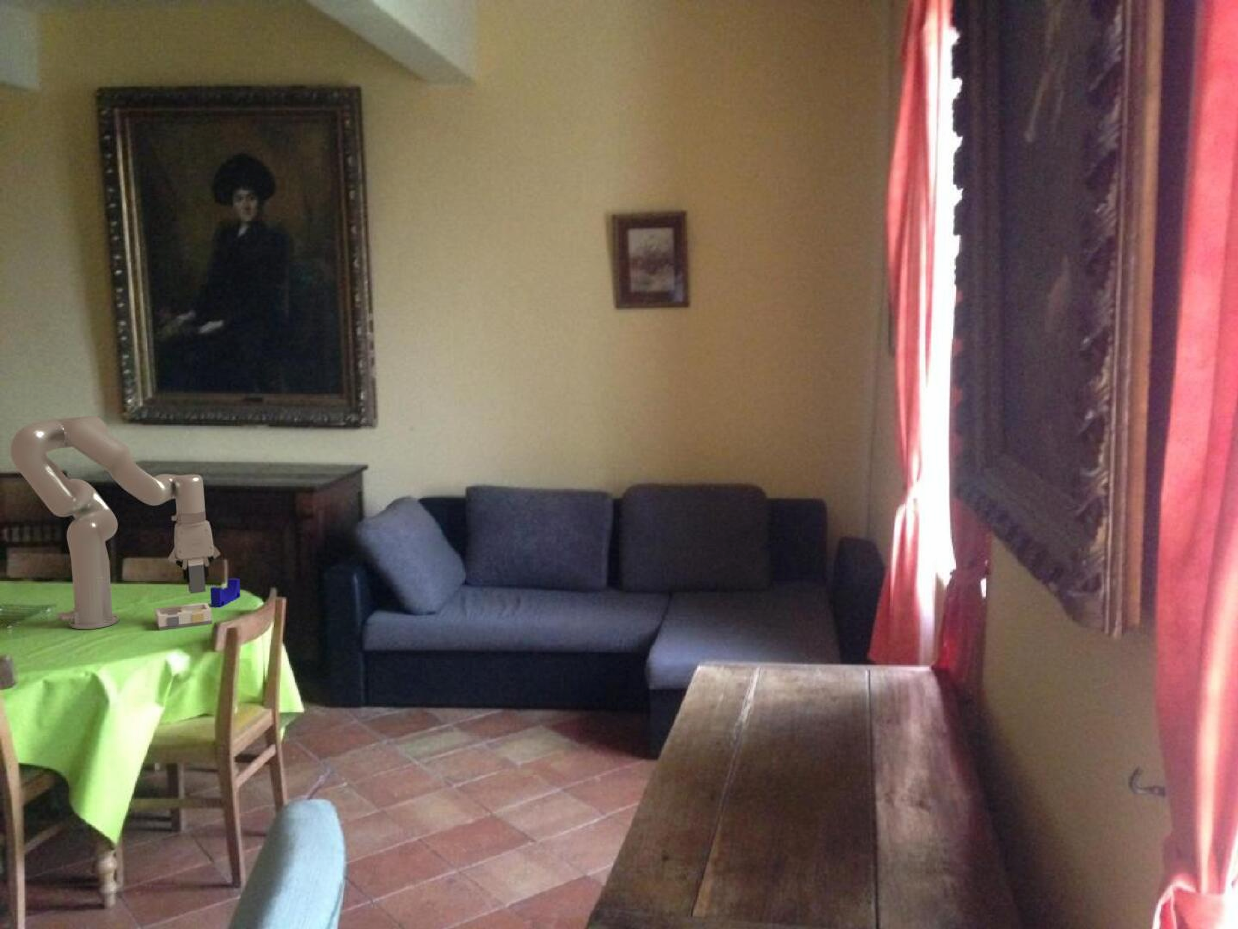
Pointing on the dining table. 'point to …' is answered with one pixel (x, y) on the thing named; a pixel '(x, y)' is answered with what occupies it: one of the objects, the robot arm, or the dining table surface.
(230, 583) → the blue notched block
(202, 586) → the plug
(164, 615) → the socket strip
